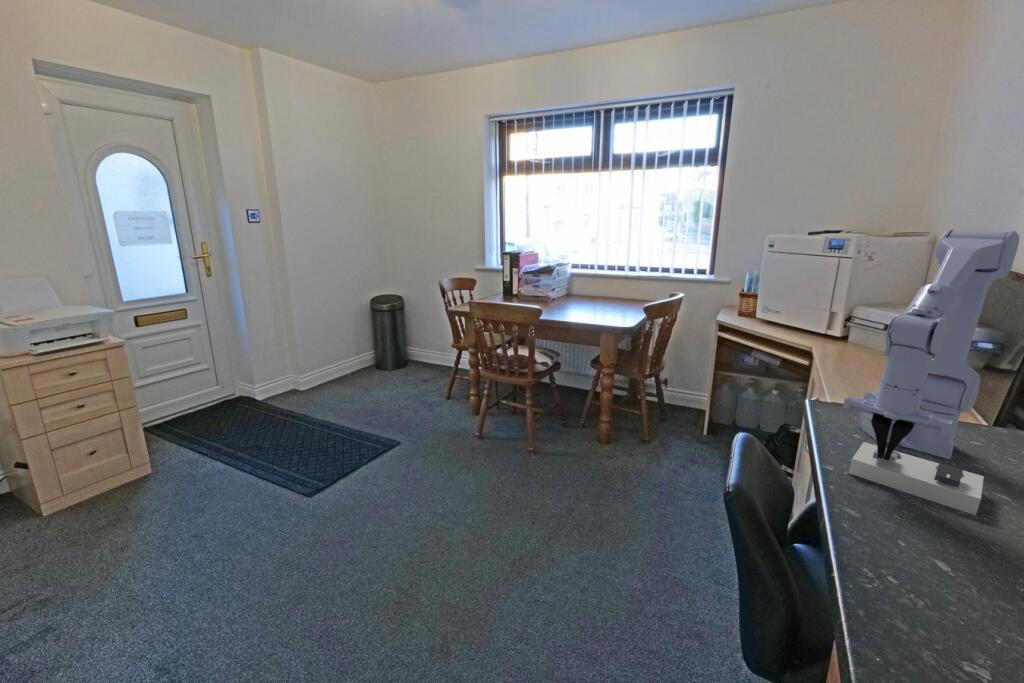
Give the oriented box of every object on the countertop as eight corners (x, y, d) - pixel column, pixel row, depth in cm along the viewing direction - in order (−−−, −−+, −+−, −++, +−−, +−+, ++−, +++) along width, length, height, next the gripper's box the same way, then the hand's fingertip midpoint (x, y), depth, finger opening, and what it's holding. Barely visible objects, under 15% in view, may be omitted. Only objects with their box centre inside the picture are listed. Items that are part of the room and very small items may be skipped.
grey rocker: (876, 453, 86) (877, 448, 86) (896, 459, 84) (898, 453, 84) (872, 457, 84) (874, 452, 83) (893, 464, 82) (895, 458, 81)
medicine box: (899, 445, 97) (909, 406, 95) (875, 442, 98) (884, 404, 96) (878, 429, 105) (887, 393, 103) (856, 427, 106) (864, 391, 104)
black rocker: (937, 467, 80) (939, 462, 80) (961, 474, 78) (963, 469, 78) (934, 479, 78) (935, 474, 78) (958, 487, 76) (960, 481, 75)
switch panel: (860, 455, 93) (863, 441, 92) (978, 491, 81) (984, 475, 80) (848, 473, 86) (852, 457, 85) (975, 515, 74) (981, 497, 73)
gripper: (846, 378, 82) (830, 449, 85) (957, 403, 71) (935, 481, 75) (855, 371, 86) (839, 438, 90) (961, 392, 76) (939, 467, 80)
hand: (883, 457), depth 83 cm, fingers closed, pressing on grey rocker
